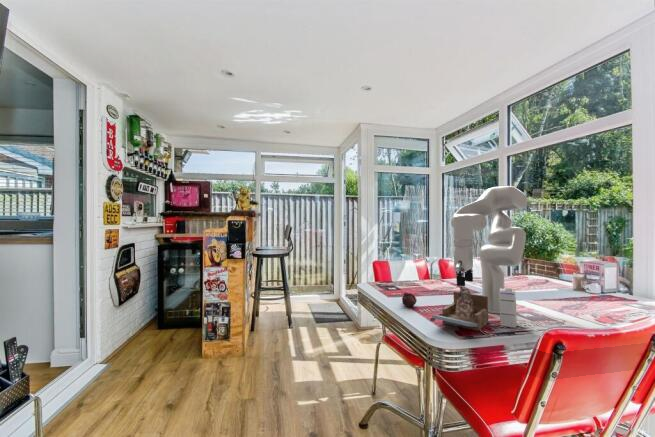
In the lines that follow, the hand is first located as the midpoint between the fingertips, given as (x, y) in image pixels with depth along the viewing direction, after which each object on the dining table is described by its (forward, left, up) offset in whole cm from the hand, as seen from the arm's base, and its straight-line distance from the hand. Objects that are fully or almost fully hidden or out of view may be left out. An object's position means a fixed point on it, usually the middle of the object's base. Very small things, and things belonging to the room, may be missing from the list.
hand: (465, 283), depth 125 cm
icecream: (-6, -30, -17) cm, 35 cm away
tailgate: (+7, 0, -14) cm, 15 cm away
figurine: (+1, 0, -14) cm, 14 cm away
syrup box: (-9, +14, -17) cm, 24 cm away
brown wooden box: (0, 0, -17) cm, 17 cm away
